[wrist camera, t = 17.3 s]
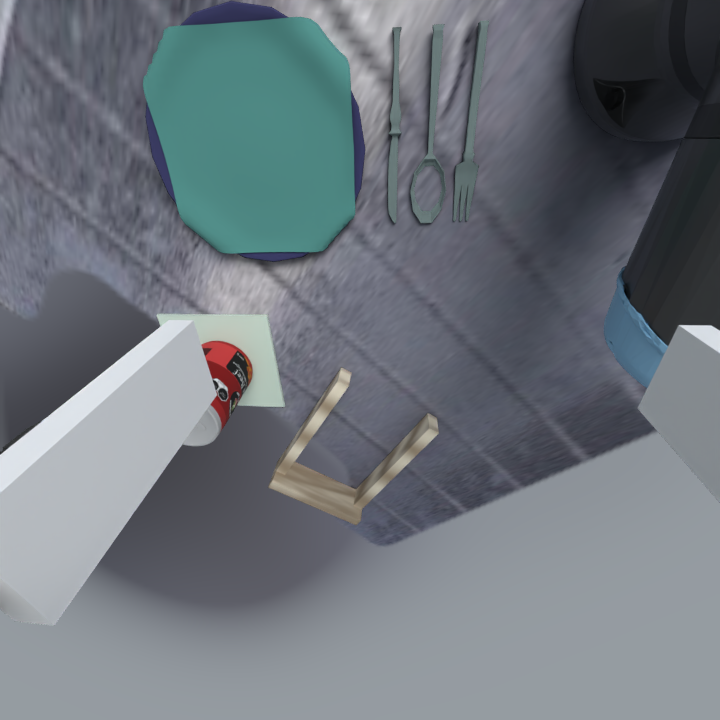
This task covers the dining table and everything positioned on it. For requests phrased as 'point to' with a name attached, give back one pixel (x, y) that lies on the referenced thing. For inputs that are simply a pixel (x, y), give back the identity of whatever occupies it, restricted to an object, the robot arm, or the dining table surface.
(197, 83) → the cutlery set
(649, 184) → the dining table surface
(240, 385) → the canned food
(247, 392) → the pad
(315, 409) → the shelf lane
